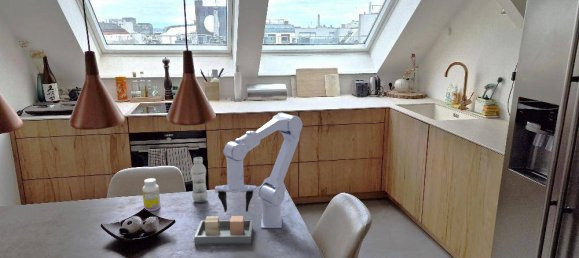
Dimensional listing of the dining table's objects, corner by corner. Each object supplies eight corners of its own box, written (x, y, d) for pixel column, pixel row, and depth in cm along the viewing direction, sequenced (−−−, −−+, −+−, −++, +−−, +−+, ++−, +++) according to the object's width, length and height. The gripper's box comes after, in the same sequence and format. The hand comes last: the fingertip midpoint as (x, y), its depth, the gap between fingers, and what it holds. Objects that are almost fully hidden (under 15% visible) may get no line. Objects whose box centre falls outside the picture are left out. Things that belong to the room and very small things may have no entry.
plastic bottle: (204, 204, 176) (202, 161, 172) (190, 203, 178) (187, 160, 173) (210, 198, 182) (208, 156, 178) (196, 197, 184) (193, 155, 179)
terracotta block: (231, 230, 152) (231, 216, 150) (243, 230, 152) (243, 215, 150) (230, 236, 147) (229, 221, 146) (242, 236, 148) (242, 221, 146)
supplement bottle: (148, 204, 176) (145, 176, 173) (163, 205, 176) (160, 177, 173) (141, 211, 170) (138, 182, 167) (156, 212, 169) (154, 183, 166)
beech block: (207, 231, 151) (206, 216, 150) (219, 231, 152) (218, 216, 150) (205, 237, 147) (204, 222, 145) (218, 237, 147) (217, 221, 146)
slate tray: (201, 228, 155) (200, 220, 154) (252, 228, 156) (252, 219, 155) (194, 245, 143) (194, 236, 142) (250, 245, 144) (250, 236, 143)
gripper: (213, 179, 140) (214, 215, 143) (255, 179, 140) (255, 215, 143) (216, 172, 147) (217, 207, 150) (256, 172, 147) (256, 206, 150)
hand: (236, 210), depth 147 cm, fingers open, 7 cm apart
